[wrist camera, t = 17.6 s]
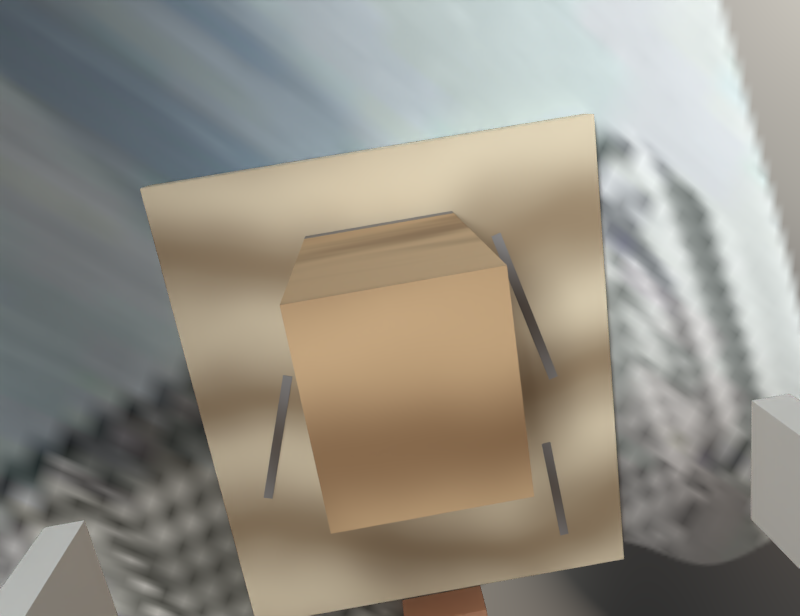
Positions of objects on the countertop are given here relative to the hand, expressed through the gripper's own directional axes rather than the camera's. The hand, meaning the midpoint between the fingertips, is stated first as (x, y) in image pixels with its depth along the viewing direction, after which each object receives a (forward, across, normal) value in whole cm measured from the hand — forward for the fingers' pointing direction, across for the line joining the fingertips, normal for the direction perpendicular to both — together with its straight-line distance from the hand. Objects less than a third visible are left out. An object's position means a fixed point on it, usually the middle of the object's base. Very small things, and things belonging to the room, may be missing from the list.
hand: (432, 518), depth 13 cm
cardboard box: (+15, 0, 0) cm, 15 cm away
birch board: (+16, 0, -4) cm, 17 cm away
